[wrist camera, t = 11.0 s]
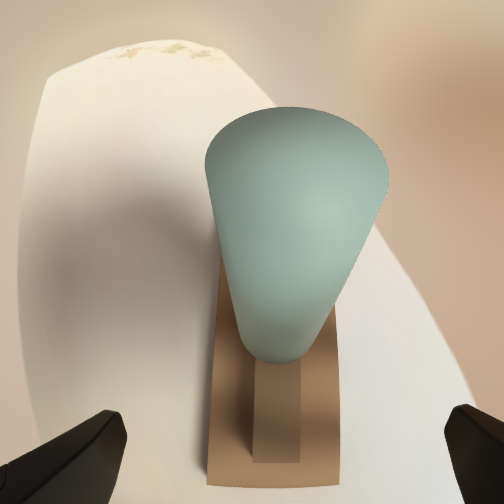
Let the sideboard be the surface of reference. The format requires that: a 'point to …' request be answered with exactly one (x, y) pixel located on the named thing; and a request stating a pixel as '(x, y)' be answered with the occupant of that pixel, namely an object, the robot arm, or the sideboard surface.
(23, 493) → the robot arm
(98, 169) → the sideboard surface
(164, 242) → the sideboard surface
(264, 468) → the ridge stand
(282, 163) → the dowel
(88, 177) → the sideboard surface
